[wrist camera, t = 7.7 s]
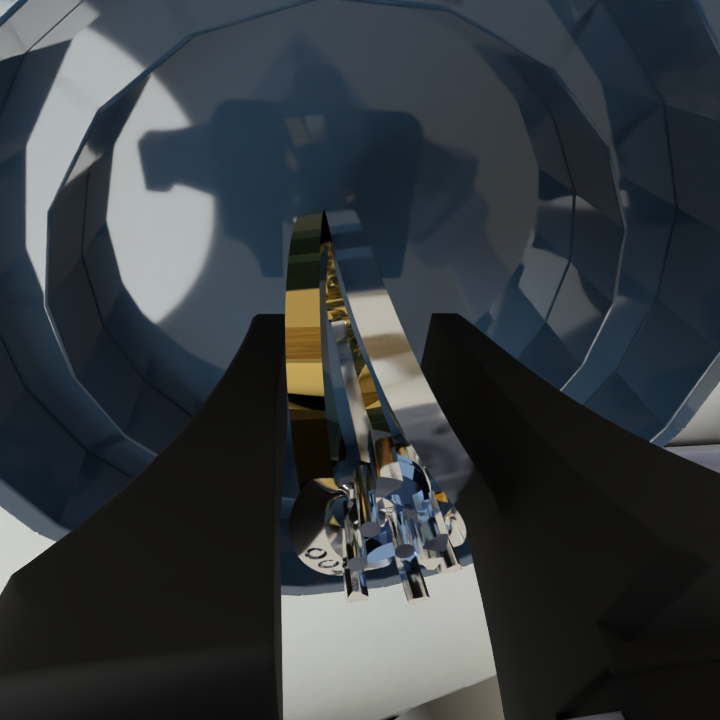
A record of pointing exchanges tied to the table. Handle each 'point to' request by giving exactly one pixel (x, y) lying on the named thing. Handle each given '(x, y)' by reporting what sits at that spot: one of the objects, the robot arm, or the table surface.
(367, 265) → the ring
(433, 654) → the table surface
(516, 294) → the bowl
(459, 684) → the table surface
